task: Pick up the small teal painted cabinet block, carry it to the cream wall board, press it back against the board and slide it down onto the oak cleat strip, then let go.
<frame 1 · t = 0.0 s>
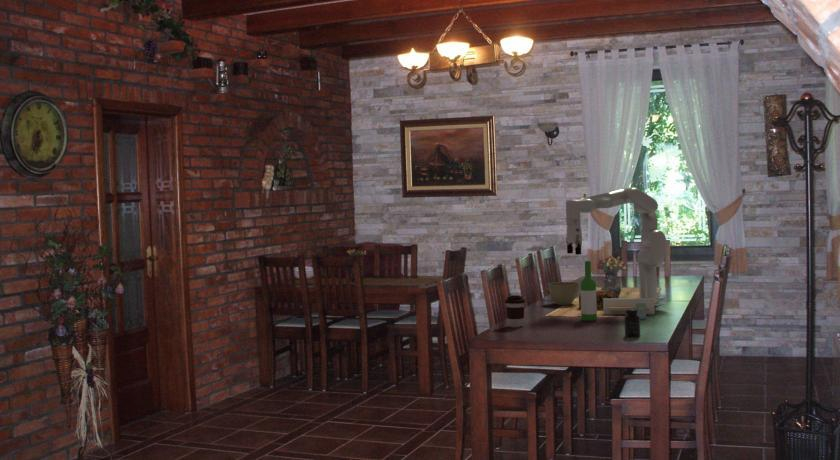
hand: (574, 253, 458), 31 cm above the table, tool pointing down, fingers open, 9 cm apart
wall board: (628, 315, 438), on the table
cabinet block: (641, 317, 428), on the table
bread: (596, 308, 467), on the table
coffee cup: (515, 326, 414), on the table
flower pot: (563, 304, 487), on the table
wine bottle: (589, 320, 425), on the table
supplement bottle: (632, 336, 377), on the table
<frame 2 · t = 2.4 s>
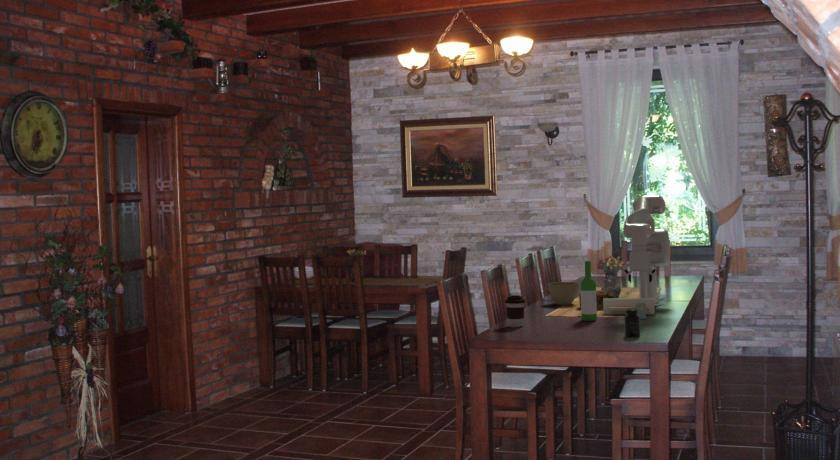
hand: (640, 282, 427), 18 cm above the table, tool pointing down, fingers open, 9 cm apart
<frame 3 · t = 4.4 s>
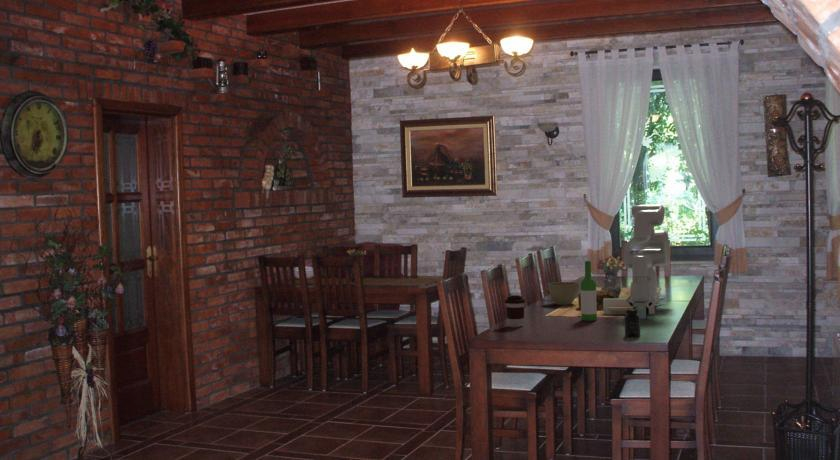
hand: (640, 314, 428), 1 cm above the table, tool pointing down, fingers closed on cabinet block, 5 cm apart
cabinet block: (641, 317, 428), on the table, touching gripper
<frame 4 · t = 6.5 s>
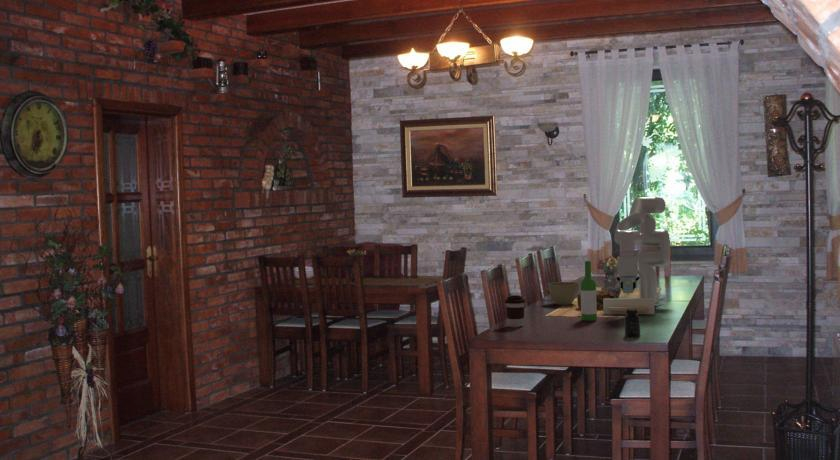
hand: (628, 289, 435), 14 cm above the table, tool pointing down, fingers closed on cabinet block, 5 cm apart
cabinet block: (628, 292, 435), point 12 cm above the table, touching gripper
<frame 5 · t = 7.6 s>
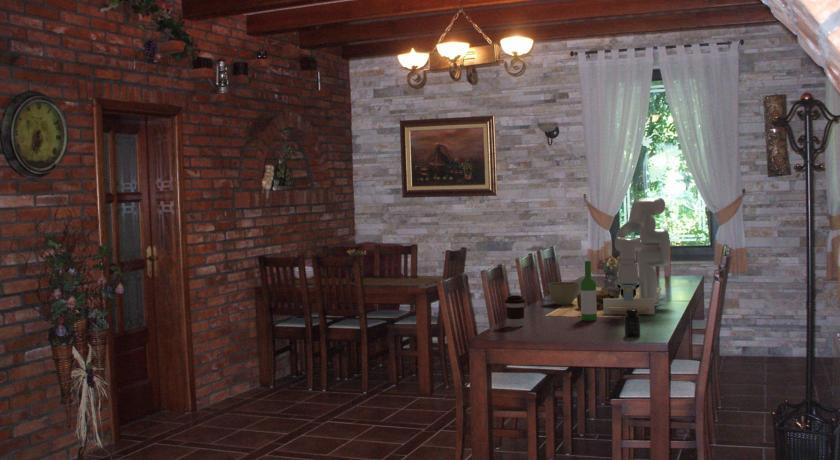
hand: (628, 296, 437), 10 cm above the table, tool pointing down, fingers closed on cabinet block, 5 cm apart
cabinet block: (628, 299, 437), point 8 cm above the table, touching gripper
when the fingers open (7 cm above the table, at t = 8.5 s): cabinet block drops 1 cm, resting on wall board.
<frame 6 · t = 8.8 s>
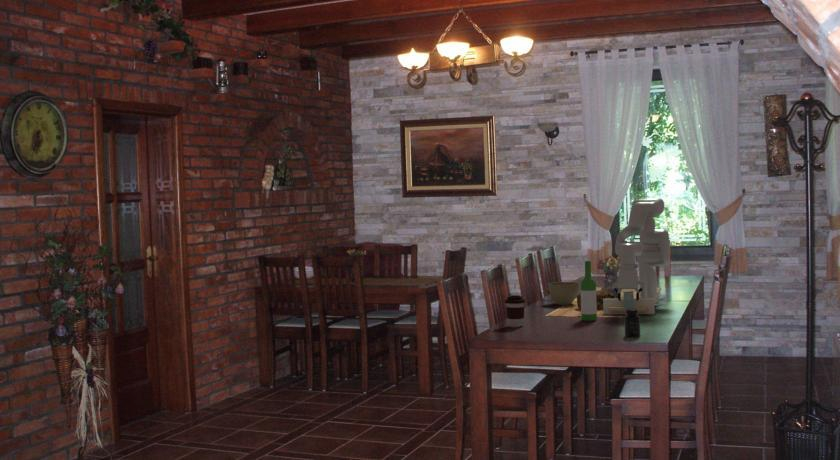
hand: (628, 300, 437), 8 cm above the table, tool pointing down, fingers open, 8 cm apart
cabinet block: (628, 307, 438), point 4 cm above the table, touching wall board
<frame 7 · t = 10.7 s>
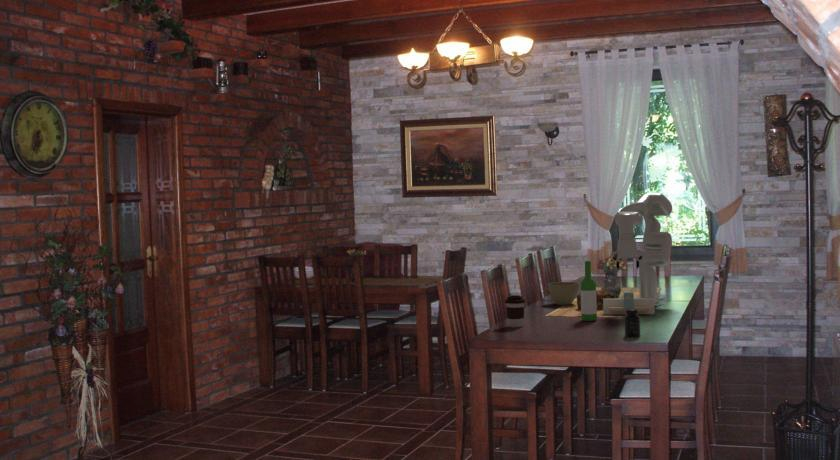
hand: (627, 268, 445), 23 cm above the table, tool pointing down, fingers open, 9 cm apart
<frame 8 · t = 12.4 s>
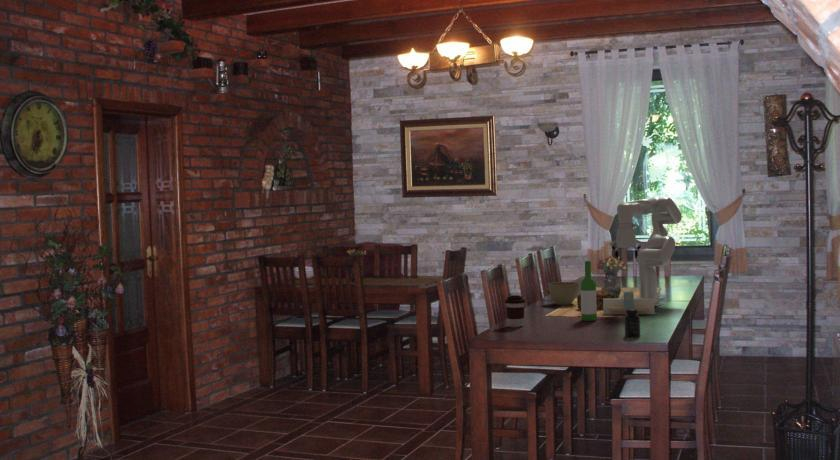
hand: (626, 258, 453), 28 cm above the table, tool pointing down, fingers open, 9 cm apart
at the end: cabinet block 0.3 cm off-centre on the wall board, point 4.0 cm above the wall board's base; cabinet block tilted 0°; cabinet block touching wall board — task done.
